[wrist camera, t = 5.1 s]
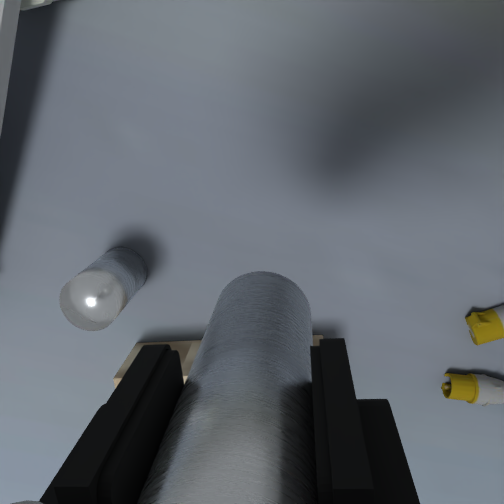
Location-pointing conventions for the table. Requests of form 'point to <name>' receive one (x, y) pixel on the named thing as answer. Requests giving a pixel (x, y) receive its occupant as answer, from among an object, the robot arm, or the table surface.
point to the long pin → (244, 405)
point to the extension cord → (474, 385)
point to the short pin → (103, 289)
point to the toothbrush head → (10, 40)
